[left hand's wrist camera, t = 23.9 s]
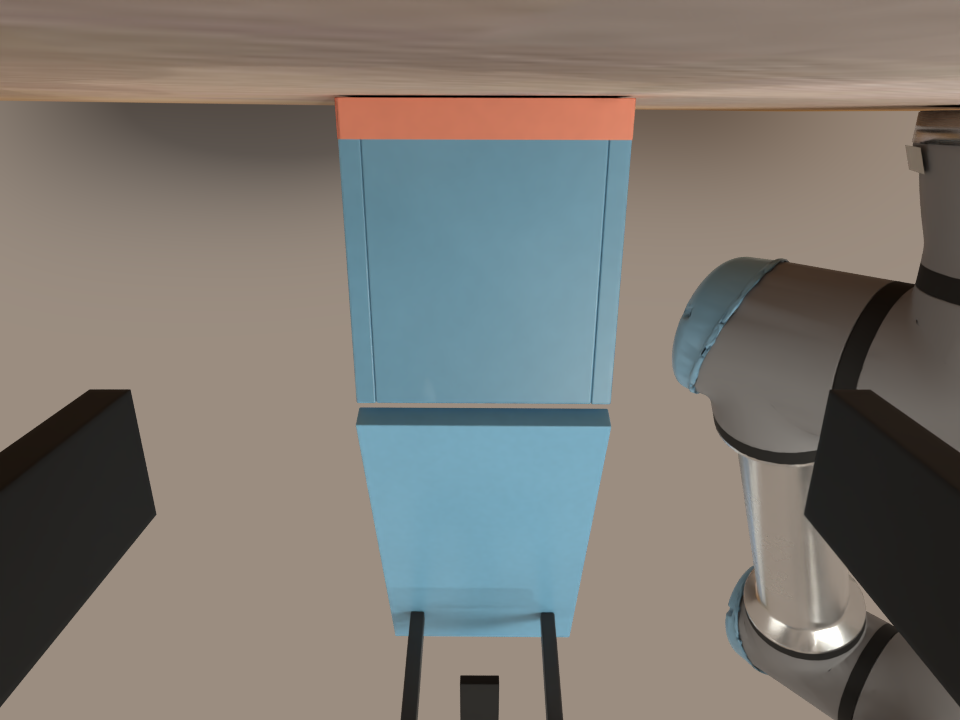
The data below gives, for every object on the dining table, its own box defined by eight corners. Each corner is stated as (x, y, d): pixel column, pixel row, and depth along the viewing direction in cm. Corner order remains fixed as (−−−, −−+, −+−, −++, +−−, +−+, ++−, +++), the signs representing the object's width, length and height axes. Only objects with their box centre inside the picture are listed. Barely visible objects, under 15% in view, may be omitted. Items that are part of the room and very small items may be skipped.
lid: (567, 620, 35) (584, 796, 29) (397, 619, 35) (378, 794, 29) (607, 408, 24) (648, 619, 18) (359, 406, 24) (316, 617, 18)
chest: (571, 105, 35) (562, 293, 39) (398, 105, 35) (405, 292, 39) (635, 98, 20) (611, 404, 24) (334, 97, 20) (356, 403, 24)
